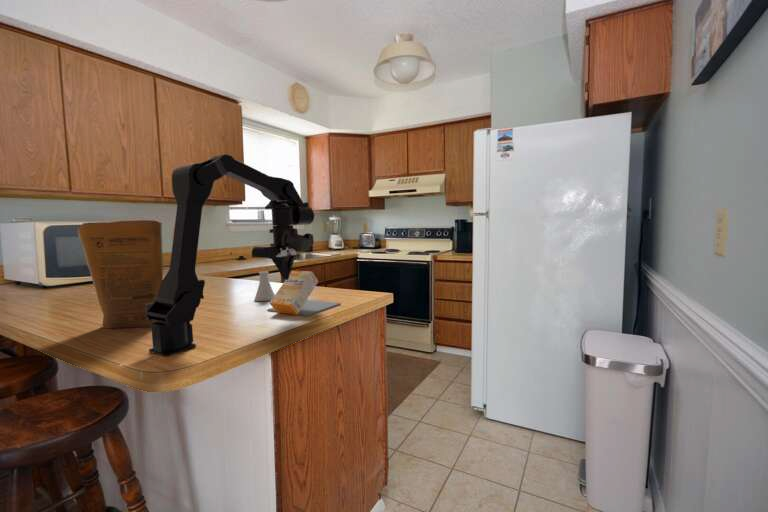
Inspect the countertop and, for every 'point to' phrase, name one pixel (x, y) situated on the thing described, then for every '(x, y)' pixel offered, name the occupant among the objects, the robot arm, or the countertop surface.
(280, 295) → the supplement box
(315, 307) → the mat
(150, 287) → the pancake mix bag
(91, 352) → the countertop surface
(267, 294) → the flask
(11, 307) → the countertop surface
